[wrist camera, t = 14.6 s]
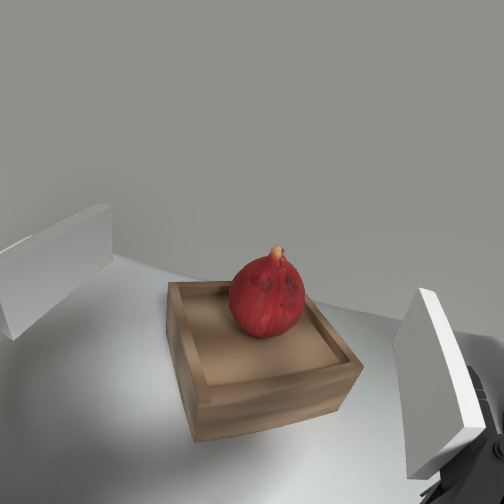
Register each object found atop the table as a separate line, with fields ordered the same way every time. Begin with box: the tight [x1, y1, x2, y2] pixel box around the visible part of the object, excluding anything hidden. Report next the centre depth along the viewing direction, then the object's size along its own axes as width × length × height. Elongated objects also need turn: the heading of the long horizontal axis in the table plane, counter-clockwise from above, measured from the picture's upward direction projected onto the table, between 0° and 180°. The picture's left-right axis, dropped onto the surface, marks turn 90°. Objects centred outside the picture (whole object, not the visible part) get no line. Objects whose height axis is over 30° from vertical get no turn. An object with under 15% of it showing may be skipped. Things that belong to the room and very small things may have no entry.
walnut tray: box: [166, 281, 364, 442], centre depth 27 cm, size 13×13×6 cm
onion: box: [229, 245, 305, 338], centre depth 24 cm, size 6×6×8 cm
